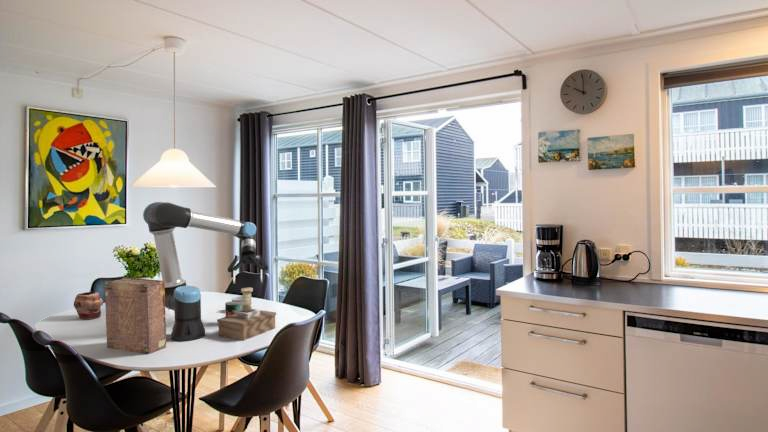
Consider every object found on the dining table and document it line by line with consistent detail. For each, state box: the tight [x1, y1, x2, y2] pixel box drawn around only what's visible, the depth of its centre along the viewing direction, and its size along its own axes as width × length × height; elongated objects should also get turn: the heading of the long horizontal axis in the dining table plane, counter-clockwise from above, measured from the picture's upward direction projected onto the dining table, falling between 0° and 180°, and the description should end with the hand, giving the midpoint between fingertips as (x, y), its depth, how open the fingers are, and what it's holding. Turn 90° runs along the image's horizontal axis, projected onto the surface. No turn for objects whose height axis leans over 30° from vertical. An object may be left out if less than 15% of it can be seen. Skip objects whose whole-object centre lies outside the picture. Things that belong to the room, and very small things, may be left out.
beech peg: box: [240, 287, 254, 313], centre depth 228 cm, size 6×6×14 cm
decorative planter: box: [73, 291, 104, 320], centre depth 257 cm, size 20×12×14 cm, turn 72°
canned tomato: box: [224, 300, 241, 317], centre depth 244 cm, size 8×8×11 cm
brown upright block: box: [104, 277, 167, 355], centre depth 206 cm, size 25×9×30 cm, turn 69°
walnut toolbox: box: [216, 308, 277, 341], centre depth 229 cm, size 23×17×10 cm
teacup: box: [231, 294, 243, 310], centre depth 272 cm, size 14×11×8 cm
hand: (247, 281), depth 238 cm, fingers open, 13 cm apart
